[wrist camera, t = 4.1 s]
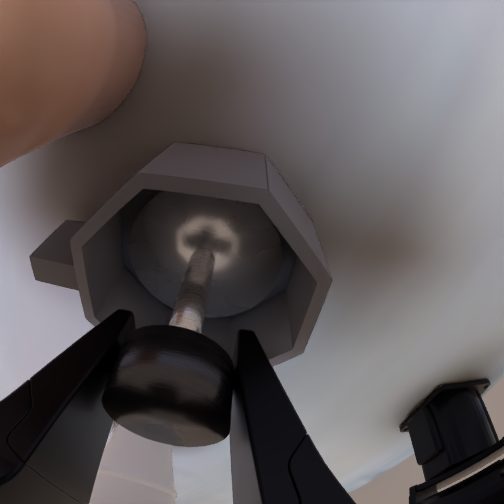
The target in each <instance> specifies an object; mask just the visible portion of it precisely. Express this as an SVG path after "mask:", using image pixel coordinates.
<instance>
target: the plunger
mask: <svg viewBox="0 0 504 504" xmlns="http://www.w3.org/2000/svg"><path fill="white" fill-rule="evenodd" d="M129 251H130V258H131V262H132V265H133V268H134V270H135V272H136V274H137V276H138V278H139V280H140V281H141V282H142V284H143V285H144V286H145V288H146V289H147V290H148V291H149V292H150V293H151V294H152V295H153V296H154V297H156V298H157V299H158V300H159V301H161V302H162V303H164V304H165V305H167V306H169V307H171V308H173V309H174V310H173V313H172V316H171V320H170V323H169V325H149V326H144V327H141V328H138V329H136V330H134V331H132V332H131V333H129V334H128V335H127V336H126V338H125V339H124V341H123V343H122V346H121V348H120V351H119V353H118V356H117V358H116V361H115V363H114V366H113V369H112V371H111V374H110V377H109V379H108V382H107V385H106V387H105V390H104V393H103V395H102V405H103V408H104V409H105V411H106V412H107V414H108V415H109V416H110V417H111V418H112V419H113V420H114V421H115V422H117V423H118V424H119V425H121V426H122V427H124V428H125V429H127V430H129V431H131V432H133V433H135V434H137V435H139V436H141V437H144V438H146V439H149V440H152V441H156V442H159V443H164V444H168V445H175V446H185V447H198V446H206V445H211V444H215V443H218V442H220V441H222V440H223V439H225V438H226V437H227V436H228V435H229V433H230V426H231V411H232V396H233V381H234V364H233V361H232V359H231V357H230V356H229V354H228V353H227V352H226V350H225V349H223V348H222V347H221V346H220V345H219V344H218V343H216V342H215V341H214V340H212V339H210V338H209V337H207V336H205V335H203V334H201V332H202V326H203V321H204V317H207V318H217V317H226V316H231V315H235V314H238V313H241V312H244V311H246V310H248V309H250V308H252V307H253V306H255V305H257V304H258V303H259V302H260V301H262V300H263V299H264V298H265V297H266V296H267V295H268V294H269V293H270V291H271V290H272V288H273V287H274V285H275V283H276V281H277V280H278V277H279V274H280V271H281V265H282V249H281V242H280V236H279V232H278V229H277V228H276V226H275V225H274V224H273V222H272V221H271V220H270V218H269V217H268V216H267V214H266V213H265V212H264V210H263V209H262V208H261V207H260V205H259V204H254V203H248V202H241V201H235V200H228V199H221V198H214V197H207V196H200V195H192V194H185V193H177V192H169V191H160V192H159V193H157V194H156V195H155V196H154V197H153V198H152V199H151V200H150V201H149V202H148V203H147V204H146V205H145V207H144V208H143V209H142V210H141V212H140V213H139V215H138V216H137V218H136V220H135V222H134V224H133V227H132V230H131V234H130V239H129Z"/></svg>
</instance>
